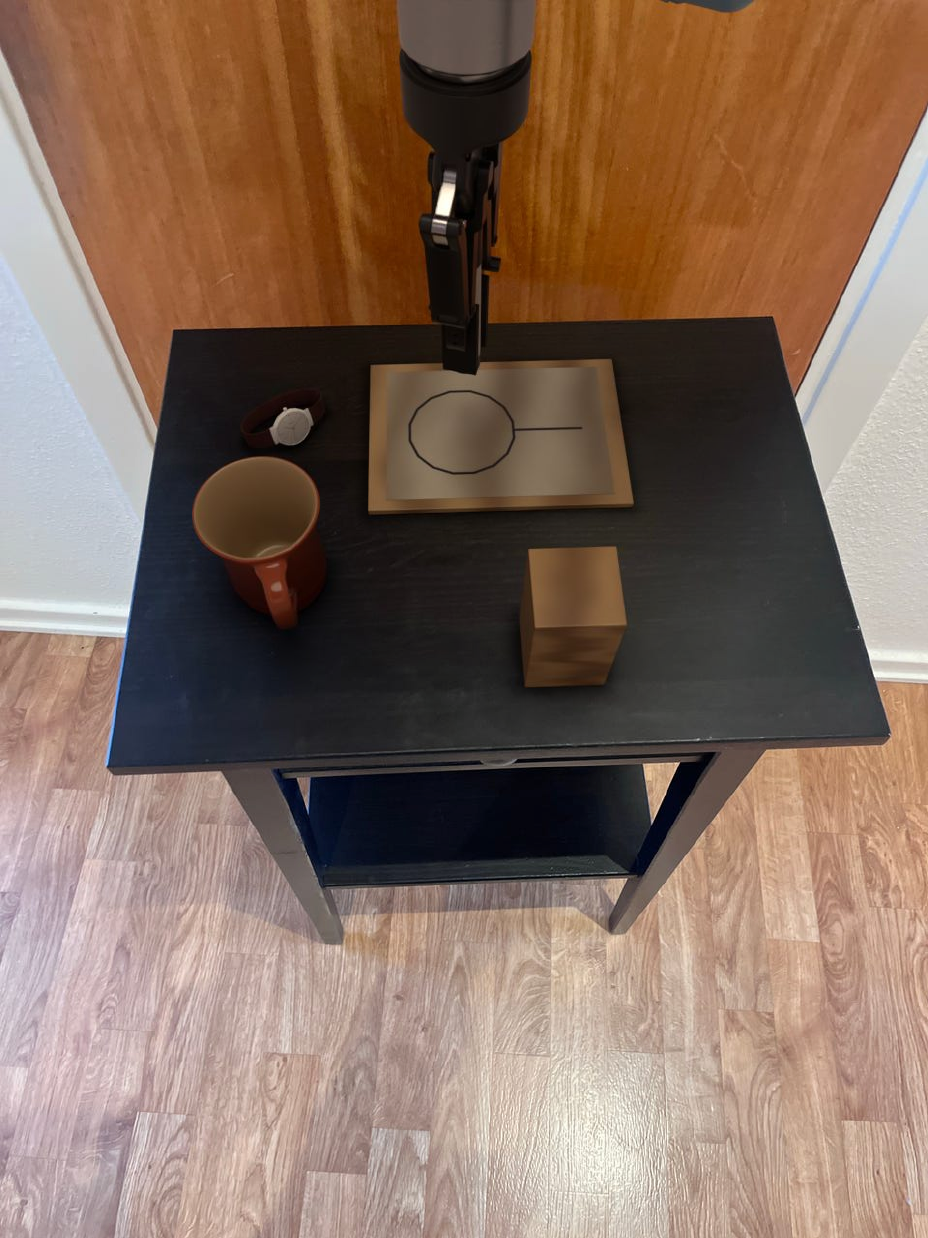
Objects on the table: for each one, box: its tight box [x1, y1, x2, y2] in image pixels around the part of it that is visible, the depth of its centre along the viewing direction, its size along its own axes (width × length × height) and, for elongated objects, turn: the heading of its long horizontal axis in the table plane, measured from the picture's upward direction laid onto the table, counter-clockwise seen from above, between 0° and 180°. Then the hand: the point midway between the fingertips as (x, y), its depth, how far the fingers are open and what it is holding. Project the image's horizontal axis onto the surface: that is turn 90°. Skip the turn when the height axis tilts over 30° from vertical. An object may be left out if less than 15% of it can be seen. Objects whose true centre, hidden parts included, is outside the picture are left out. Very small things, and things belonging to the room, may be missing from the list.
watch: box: [239, 387, 326, 449], centre depth 74 cm, size 8×5×4 cm, turn 126°
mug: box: [191, 455, 327, 630], centre depth 63 cm, size 12×9×10 cm
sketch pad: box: [367, 358, 634, 516], centre depth 75 cm, size 22×16×1 cm
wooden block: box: [518, 546, 628, 688], centre depth 61 cm, size 6×6×10 cm
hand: (465, 354), depth 69 cm, fingers closed on marker, 2 cm apart
